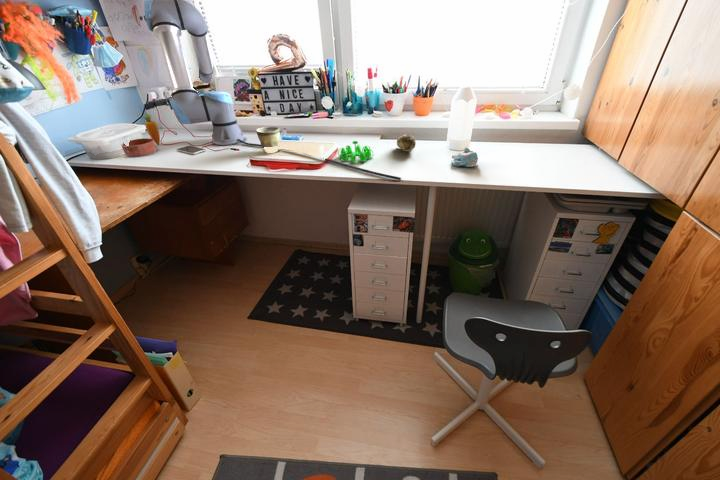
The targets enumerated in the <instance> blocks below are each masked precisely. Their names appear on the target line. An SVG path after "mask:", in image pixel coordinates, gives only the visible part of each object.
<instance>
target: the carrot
mask: <svg viewBox="0 0 720 480" xmlns="http://www.w3.org/2000/svg"><path fill="white" fill-rule="evenodd" d="M145 114H146V115H144V116H141V118H142V119H144V120H146V122H145V123H144V127H145V126H146V127H145V129H146V131H147V133H148V135H149V138H151V139H153V140H154V142H155V145H156V146H159V145H160V142H161V137H160V135H161V134H160V130H159V128H158V123H157V122H156V121H154V120H151V119H152V116H151V114H149V113H148V112H146V113H145Z"/></svg>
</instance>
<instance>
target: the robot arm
mask: <svg viewBox="0 0 720 480" xmlns="http://www.w3.org/2000/svg"><path fill="white" fill-rule="evenodd" d="M142 5H143V6H142V7H143V8H142V9H143V15H144V18H145V23H146V26H147V29H148V30H149V31H150V32H152V33H153V36H155V37H156V38H157V39H158V41H159V44H160V45H159V46H160V48H161V52H162V55H163V59H164V62H165V66H166V68H167V72H168V76H169V79H170V83H171V86H172V89H173V90H172V92H170V96H169V97H166V98H165V99H163V98H160V99H155V100H150V101H147V103H144V104H143V107H144V109H145V111H148V110H151V109H155V107H162V106H166V107H168V106H169V107H170V110H173V113H174V115H175V117H176V119H177V121H178V123H179V124H180V125H193V124H201V123H209V122H211V125H212V134H211V138H212V142H213V143H212V144H213V145H215V146H216V145H217V146H230V145H236V144H240V143H242V144H244V145H246V146H252V147H253V146H254V147H261V148H262V145H261V143H260V144H259V143H252V142H251V143H250V142H247V141H245V139H246V138H245V134H244V132H243V131H242V129H241V127H240V126H239V124H238V120H237V116H236V111H235V108H234V102H233V99H232V96H231V94H230V93H228V92H227V91H219V90H206V91H205V90H204V91H203V95H201V94H200V96H199V93H200V92H199V93H198V91H199V90H198V91H196V90H195V89H194V88H193V84H192V81H191V77H190V74H189V70H188V67H189V65H188V63H187V60H186V55H185V53H184V48H183V45H182V42H181V37H182V34H183V33H182V31H187V33H188V35H190V40H191V42H192V47H193V50H194V54H195V59H196V62H197V66H198V68H199V78H200V80H201V81H203V82H206V83H211V82H210V81H211V79H212V74H213V67H214V64H213V59H212V54H211V49H210V44H209V40H208V32H209V29H208V24H207V21H206V19H205V17H204V16H203V14H202V12H200V10H199V9H198V8H197V7H196V6H195V5H193V4H192V3H190V2H189V1H188V0H144V1H143V4H142ZM187 65H188V66H187ZM171 96H172V97H171ZM324 161H325V162H329V163H332V164H336V165H339V166H342V167H346V168H349V169H351V170H352V169H353V170H356V171H360V172H364V173H367V174H371V175H376V176H380V177H384V178H387V179H393V180H398V181H401V179H402V178H401V177H399V176H395V175H390V174H386V173H382V172H377V171H373V170H369V169H366V168H361V167H357V166H353V165H350V164H347V163H343V162H339V161H336V160H334V159H329V158H326V159H325V160H324Z"/></svg>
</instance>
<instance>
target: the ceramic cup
mask: <svg viewBox="0 0 720 480" xmlns="http://www.w3.org/2000/svg"><path fill="white" fill-rule="evenodd" d="M255 132H256V135H257V138H258V140H259V141H260V145H262V147H261V148H262V149H263V148H264V147H274V146H278V145H279V146H280V136H281V135H280V133H281V131H280V127H278V126H264V127H260V128H256V130H255Z"/></svg>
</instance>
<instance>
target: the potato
mask: <svg viewBox="0 0 720 480" xmlns="http://www.w3.org/2000/svg"><path fill="white" fill-rule="evenodd" d="M416 145H417V144H416V139H415V137H414V136H413V135H411V134H403V135H401V136H400V137H398V138H397V140H396V146H397V147H398V148H399V149H400V150H402V151H403V152H410V151H412V150H414V149H415V148H416Z"/></svg>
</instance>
